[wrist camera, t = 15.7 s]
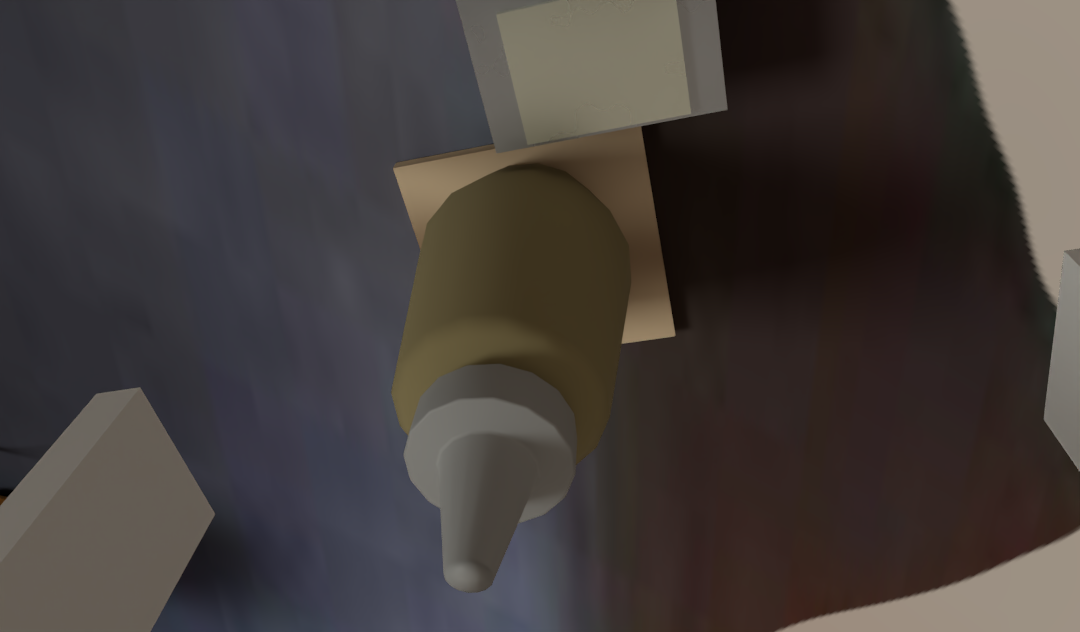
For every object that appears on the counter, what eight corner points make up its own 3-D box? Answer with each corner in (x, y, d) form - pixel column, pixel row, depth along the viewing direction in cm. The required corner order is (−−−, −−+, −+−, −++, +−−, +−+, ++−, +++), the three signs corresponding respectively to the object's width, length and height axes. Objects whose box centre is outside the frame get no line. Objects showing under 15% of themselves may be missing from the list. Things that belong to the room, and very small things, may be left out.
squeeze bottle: (396, 212, 34) (223, 547, 19) (544, 91, 31) (478, 378, 16) (522, 340, 37) (461, 718, 22) (670, 242, 34) (716, 604, 19)
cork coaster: (396, 162, 34) (393, 168, 33) (639, 115, 32) (639, 121, 31) (461, 359, 39) (459, 366, 38) (674, 328, 37) (675, 336, 36)
